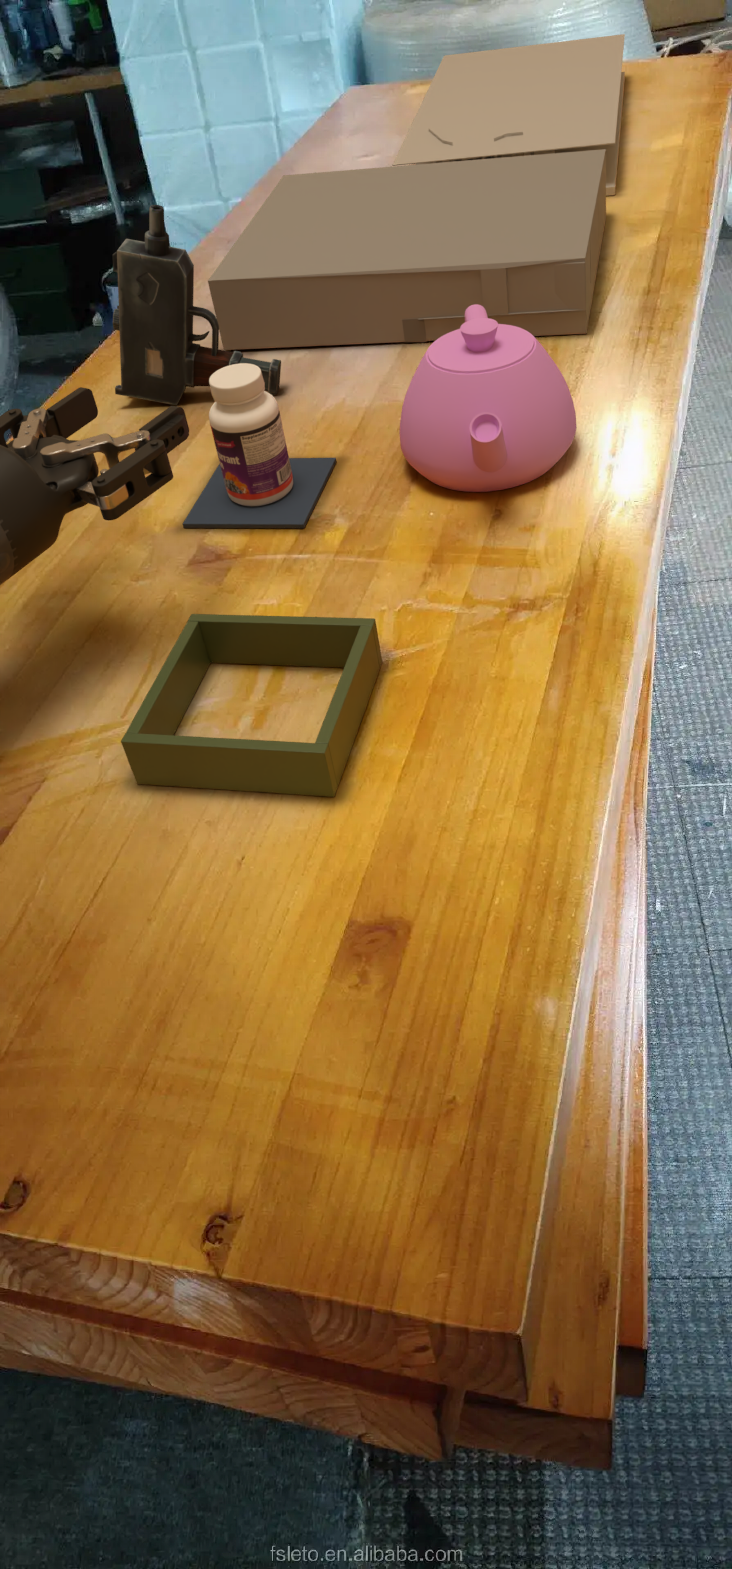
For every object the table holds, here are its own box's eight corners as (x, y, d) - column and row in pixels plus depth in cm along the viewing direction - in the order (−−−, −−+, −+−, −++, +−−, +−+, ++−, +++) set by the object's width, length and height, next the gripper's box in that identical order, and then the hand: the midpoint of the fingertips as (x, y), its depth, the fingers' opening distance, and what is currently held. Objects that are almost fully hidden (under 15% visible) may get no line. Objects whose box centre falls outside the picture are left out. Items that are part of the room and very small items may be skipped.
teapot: (402, 537, 88) (383, 402, 81) (403, 411, 103) (387, 287, 95) (592, 516, 87) (589, 377, 79) (565, 391, 101) (561, 263, 94)
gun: (285, 236, 98) (106, 204, 98) (272, 423, 110) (113, 393, 110) (291, 224, 100) (115, 192, 100) (278, 409, 112) (121, 380, 112)
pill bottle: (217, 488, 97) (188, 374, 90) (277, 465, 98) (253, 351, 91) (243, 516, 93) (215, 399, 86) (305, 492, 94) (282, 375, 88)
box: (606, 216, 128) (606, 146, 123) (586, 334, 108) (585, 255, 103) (294, 240, 137) (283, 175, 132) (223, 353, 117) (206, 281, 112)
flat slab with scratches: (447, 97, 169) (443, 52, 165) (624, 78, 164) (624, 30, 160) (398, 214, 138) (392, 161, 134) (614, 194, 133) (614, 138, 129)
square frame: (136, 784, 73) (120, 741, 70) (203, 655, 81) (191, 613, 79) (334, 797, 69) (324, 753, 67) (382, 661, 78) (375, 617, 76)
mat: (183, 528, 94) (182, 523, 94) (223, 462, 101) (222, 458, 100) (304, 528, 91) (303, 524, 91) (336, 461, 98) (336, 457, 98)
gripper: (23, 499, 67) (202, 370, 76) (-136, 457, 74) (45, 343, 83) (65, 608, 72) (228, 476, 81) (-88, 559, 79) (78, 441, 88)
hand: (135, 409), depth 82 cm, fingers open, 8 cm apart
